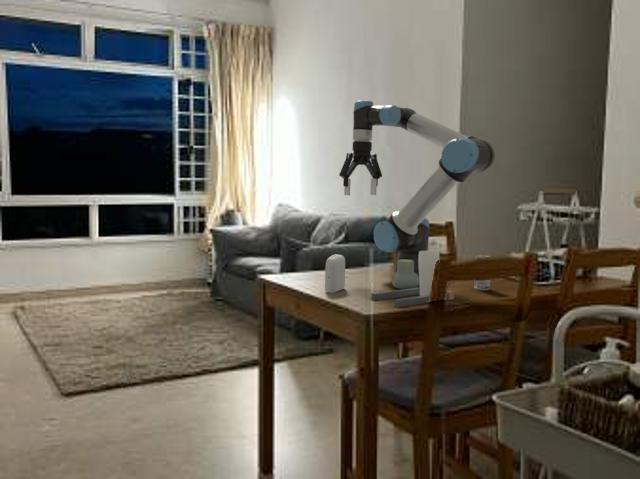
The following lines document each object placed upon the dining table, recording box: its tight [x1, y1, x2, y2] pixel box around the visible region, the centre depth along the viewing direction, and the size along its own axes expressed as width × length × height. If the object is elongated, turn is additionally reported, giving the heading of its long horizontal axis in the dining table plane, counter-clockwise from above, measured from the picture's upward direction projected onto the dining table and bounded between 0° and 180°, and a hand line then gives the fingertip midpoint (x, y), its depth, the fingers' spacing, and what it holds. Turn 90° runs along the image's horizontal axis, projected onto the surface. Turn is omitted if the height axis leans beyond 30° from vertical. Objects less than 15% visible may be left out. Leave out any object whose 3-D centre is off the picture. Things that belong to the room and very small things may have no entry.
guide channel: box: [370, 287, 455, 308], centre depth 211 cm, size 24×13×2 cm, turn 125°
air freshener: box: [391, 259, 419, 290], centre depth 229 cm, size 11×8×10 cm
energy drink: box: [473, 254, 492, 292], centre depth 230 cm, size 5×5×12 cm
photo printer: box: [324, 254, 346, 294], centre depth 223 cm, size 10×4×12 cm, turn 156°
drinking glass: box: [418, 250, 440, 297], centre depth 215 cm, size 7×7×15 cm
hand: (360, 195), depth 258 cm, fingers open, 13 cm apart
